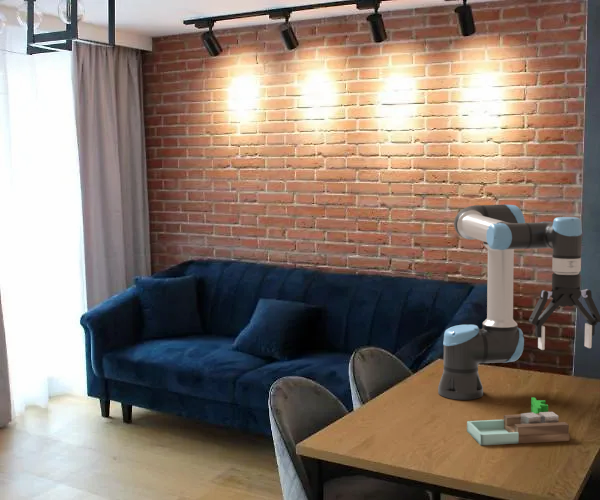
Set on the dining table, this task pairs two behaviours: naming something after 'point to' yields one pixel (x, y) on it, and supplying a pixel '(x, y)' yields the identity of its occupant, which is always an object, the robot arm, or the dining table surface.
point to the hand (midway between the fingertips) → (564, 348)
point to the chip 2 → (548, 417)
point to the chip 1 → (530, 418)
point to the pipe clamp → (538, 406)
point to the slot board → (538, 437)
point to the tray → (491, 432)
